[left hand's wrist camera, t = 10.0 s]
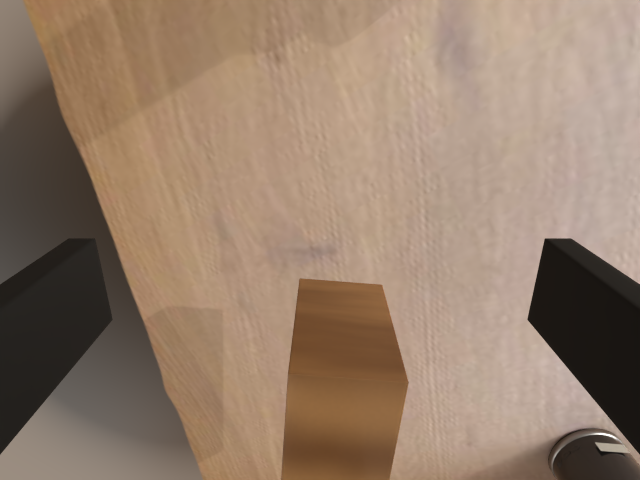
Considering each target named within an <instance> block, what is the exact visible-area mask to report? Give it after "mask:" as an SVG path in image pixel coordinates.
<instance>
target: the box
mask: <svg viewBox="0 0 640 480" xmlns="http://www.w3.org/2000/svg"><path fill="white" fill-rule="evenodd" d="M408 383H409V382H408V379H407V375H406V371H405V368H404V364H403V360H402V357H401V353H400V349H399V345H398V342H397V338H396V334H395V331H394V327H393V323H392V320H391V316H390V312H389V308H388V305H387V301H386V297H385V294H384V290H383V286H382V285H377V284H364V283H351V282H338V281H325V280H312V279H300V280H299V288H298V296H297V304H296V313H295V321H294V329H293V338H292V346H291V354H290V362H289V371H288V383H287V399H286V414H285V429H284V445H283V460H282V476H281V480H389V479H390V474H391V469H392V464H393V459H394V454H395V449H396V443H397V438H398V433H399V428H400V423H401V418H402V413H403V408H404V403H405V398H406V393H407V388H408Z"/></svg>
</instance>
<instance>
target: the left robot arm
mask: <svg viewBox="0 0 640 480" xmlns="http://www.w3.org/2000/svg"><path fill="white" fill-rule="evenodd" d="M111 321H112V315H111V310H110V306H109V301H108V297H107V292H106V287H105V282H104V278H103V273H102V269H101V264H100V259H99V255H98V250H97V245H96V241H95V239H67V240H66V241H65V242H63V243H62V244H60V245H59V246H57V247H56V248H54V249H53V250H51V251H50V252H48V253H47V254H45V255H44V256H42V257H41V258H39V259H38V260H36V261H35V262H33V263H32V264H30V265H29V266H27V267H26V268H24V269H23V270H21V271H20V272H18V273H17V274H15V275H14V276H12V277H11V278H9V279H8V280H6V281H5V282H3V283H2V284H0V454H1V453H2V452H3V450H4V449H5V448H6V447H7V446H8V444H9V443H10V442H11V441H12V440H13V438H14V437H15V436H16V435H17V434H18V432H19V431H20V430H21V429H22V428H23V426H24V425H25V424H26V423H27V422H28V420H29V419H30V418H31V417H32V416H33V414H34V413H35V412H36V411H37V410H38V408H39V407H40V406H41V405H42V404H43V402H44V401H45V400H46V399H47V398H48V396H49V395H50V394H51V393H52V392H53V390H54V389H55V388H56V387H57V386H58V384H59V383H60V382H61V381H62V380H63V378H64V377H65V376H66V375H67V374H68V372H69V371H70V370H71V369H72V368H73V366H74V365H75V364H76V363H77V362H78V360H79V359H80V358H81V357H82V356H83V354H84V353H85V352H86V351H87V350H88V348H89V347H90V346H91V345H92V344H93V342H94V341H95V340H96V339H97V338H98V336H99V335H100V334H101V333H102V332H103V330H104V329H105V328H106V327H107V326H108V324H109V323H110V322H111ZM528 321H529V322H530V323H531V324H532V326H533V327H534V328H535V329H536V330H537V332H538V333H539V334H540V335H541V336H542V338H543V339H544V340H545V341H546V342H547V344H548V345H549V346H550V347H551V348H552V350H553V351H554V352H555V353H556V354H557V356H558V357H559V358H560V359H561V360H562V362H563V363H564V364H565V365H566V366H567V368H568V369H569V370H570V371H571V372H572V374H573V375H574V376H575V377H576V378H577V380H578V381H579V382H580V383H581V384H582V386H583V387H584V388H585V389H586V390H587V392H588V393H589V394H590V395H591V396H592V398H593V399H594V400H595V401H596V402H597V404H598V405H599V406H600V407H601V408H602V410H603V411H604V412H605V413H606V414H607V416H608V417H609V418H610V419H611V420H612V422H613V423H614V424H615V425H616V426H617V428H618V429H619V430H620V431H621V432H622V434H623V435H624V436H625V437H626V438H627V440H628V441H629V442H630V443H631V444H632V446H633V447H634V448H635V449H636V450H637V452H638V453H639V454H640V284H638V283H637V282H635V281H634V280H632V279H631V278H629V277H628V276H626V275H625V274H623V273H622V272H620V271H619V270H617V269H616V268H614V267H613V266H611V265H610V264H608V263H607V262H605V261H604V260H602V259H601V258H599V257H598V256H596V255H595V254H593V253H592V252H590V251H589V250H587V249H586V248H584V247H583V246H581V245H580V244H578V243H577V242H575V241H574V240H573V239H545V241H544V245H543V250H542V255H541V259H540V264H539V268H538V273H537V278H536V282H535V287H534V292H533V296H532V301H531V306H530V310H529V315H528Z"/></svg>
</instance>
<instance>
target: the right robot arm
mask: <svg viewBox="0 0 640 480" xmlns="http://www.w3.org/2000/svg"><path fill="white" fill-rule="evenodd" d="M549 467H550V469H551V471H552V473H553V475H554V476H555V478H556V479H557V480H640V465H639V464H638V463H637V462H636V460H635V459H634V458H633V457H632V455H631V454H630V452H629V450H628V449H627V448H626V447H625V445H624V444H623V443H622V442H621V441H620V439H619V438H618V437H617V436H616V435H615V434H613V433H611V432H609V431H606V430H603V429H585V430H580V431H577V432H574V433H572V434H570V435H568V436H566V437H564V438H563V439H562V440H560V441H559V442H558V443H557V444H556V445H555V446H554V448H553V449H552V451H551V453H550V455H549Z"/></svg>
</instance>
